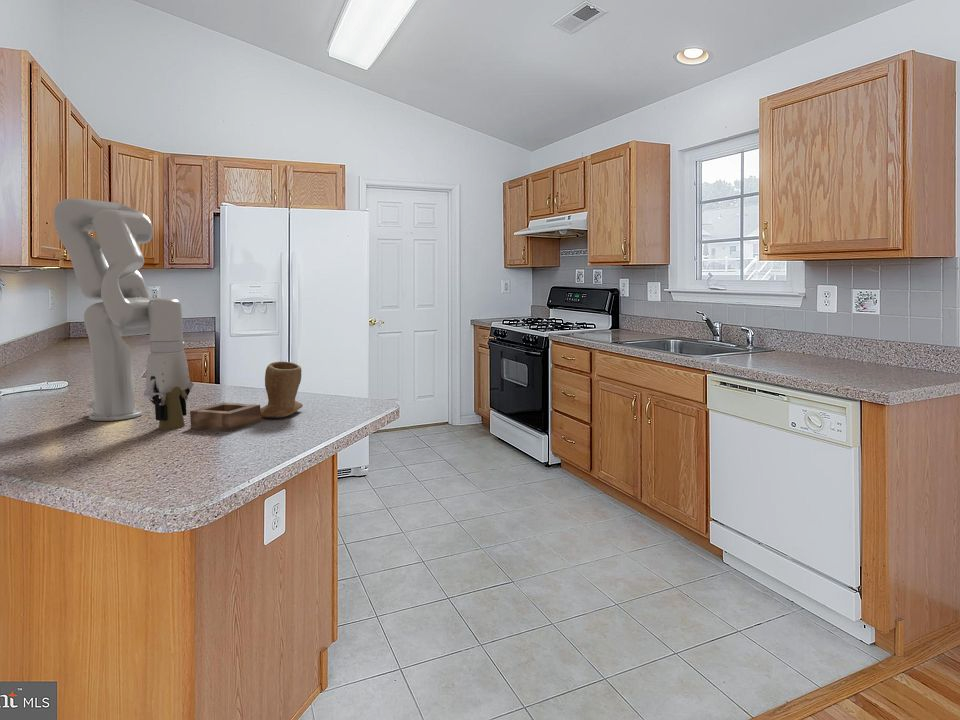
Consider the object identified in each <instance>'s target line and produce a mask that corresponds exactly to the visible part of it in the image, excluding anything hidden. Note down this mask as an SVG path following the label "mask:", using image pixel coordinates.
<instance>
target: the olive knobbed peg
mask: <svg viewBox="0 0 960 720" xmlns="http://www.w3.org/2000/svg"><path fill="white" fill-rule="evenodd" d="M180 394H181V389H180V387H175V388H173V389H172V391H171V392H169V393H167V394H166V399H165V404H164V405H167V417H168V419H167V420H166V421H160V420H158V421H159V422H158V429H160V430H175V429H180V428H181V429H182V428H184V427H185V426H186V423H185V420H184V419H185V418H184V416H183V413H182V409H181V404H180V399H179V396H180ZM160 397H161V395H159V398H160Z"/></svg>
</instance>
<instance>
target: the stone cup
mask: <svg viewBox="0 0 960 720" xmlns="http://www.w3.org/2000/svg"><path fill="white" fill-rule="evenodd" d="M301 381H302V367H301V366H300V365H299V364H298V363H295V362H291V361H283V360H282V361H273V362H271V363H270V364H268V365H267V367H266V369H265V374H264V388H265V390H266V394H267V400H268V403H267V404H266V405H265V406H263V407H260V410H261V418H262V417H263V418H286V417H288V416H291V415H293V414H294V413H296V412H298V411H299V410H300V409H302V408H303V404H302V403H301V402H299V401H297V400H296V397H297V394H298V390H299V388H300V384H301Z"/></svg>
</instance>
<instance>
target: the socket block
mask: <svg viewBox="0 0 960 720" xmlns="http://www.w3.org/2000/svg"><path fill="white" fill-rule="evenodd" d="M260 409H261V404H254V403H253V404H250V403H237V402H225V401H223V402H220V403H219V402H218V403H215V404H212V405H208V406H204V407H200V408H196V409H193V410H189V415H190V429H194V430H195V429H197V430H207V431H208V430H209V431H219V432H228V433H229V432H233V431H236V430H239V429H243V428H246V427H249V426H252V425H255V424H257V423H261V422H262V416H261V410H260Z"/></svg>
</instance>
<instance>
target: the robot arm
mask: <svg viewBox="0 0 960 720" xmlns="http://www.w3.org/2000/svg"><path fill="white" fill-rule="evenodd" d="M53 210H54V211H53V223H54V224H53V225H54V228H55V231H56V234H57V236H58V239H59V240H60V242H61V243H62V246H63V247H64V249H65V250H66V252H67V253H68V257H69V259H70V262H71V264H72V268H73V271H74V274H75V277H76V281H77V283H78V286H79V289H80V291H81V293H82V295H83V296H84V297H86V298H87V299H89V300H94V301H99V302H95V303H93V304H91V305H89V306H88V307H87V308H86V309H85V311H84V312H83V322H84V326H85V329H86V334H87V336H88V342H89V348H90V358H91V368H92V383H93V396H94V397H93V398H94V400H92V401H91V402H90V403H87V404H86V408H87V409H92V413H89V414H88V419H89V420H90V421H97V422H107V421H108V422H110V421H120V420H121V421H122V420H129V419H133V418H137V417H140V416H141V415H143V411H142V409H140V408H137V407H136V400H135V399H136V398H135V386H134V385H135V382H134V370H133V369H134V368H133V356H132V355H133V354H132V351H131V348H130V347H129V345H128V344H127V343H126V341H125V340H124V339H123V338H122V337H129V336H141V335H142V336H143V335H148V334H149V344H150V346H149V347H150V354H147V359H146V360H147V361H146V369H145V382H146V384H145V385H146V386H145V387H146V388H145V390H144V392H143V395H144V396H145V397H146V398H147V399H148V400H149V402H151V403H152V405H153V406H154V412H155V413H154V415H155V420H156V421H159V420H160V421H166V420H167V419H168V417H167V405H164V404H165V399H166V394H167V393H169V392H171V391H172V389H173V388H175V387H180V389H181V394H180V396H179V399H180V404H181V409H182V413H183V417H184V416H187V400H188V396H189V394H190V392H191V391H192V388H193V387H194V383H193V382H192V381H191V379H190V372H189V365H188V359H187V355H186V352H185V351H184V350H185V348H184V347H185V342H184V335H183V334H184V332H183V315H182V311H183V310H182V304H181V301H180V300H179V299H177V298H176V299H175V298H160V297H150V293H149V291H148V288H147V285H146V281H145V279H144V277H143V276H142V274H141V272H139V270H140V269H141V268H142V267H143V266H144V264H145V258H144V255H143V253H142V250H141V248H140V246H139V244H142V245H143V244H147V243H150V242H151V240H152V239H153V236H154V226H153V224H152V223H153V222H151V220H150V218H149V217H148V215H146V214H145V213H144V212H142V211H140V210H137V209H134V208H133V207H130V206H128V205H126V204H122V203H118V202H113V201H106V200H105V201H104V200H98V199H97V200H96V199H88V198H76V197H75V198H74V197H73V198H66V199H65V198H64V199H61V200H60V201H59V202H58V203H56V205H55V207H54V209H53ZM89 232H94V235H95V237H96V238H94V236H92V235H91V234H90V233H89ZM96 239H97V240H96ZM159 395H161V397H160V396H159Z"/></svg>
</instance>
